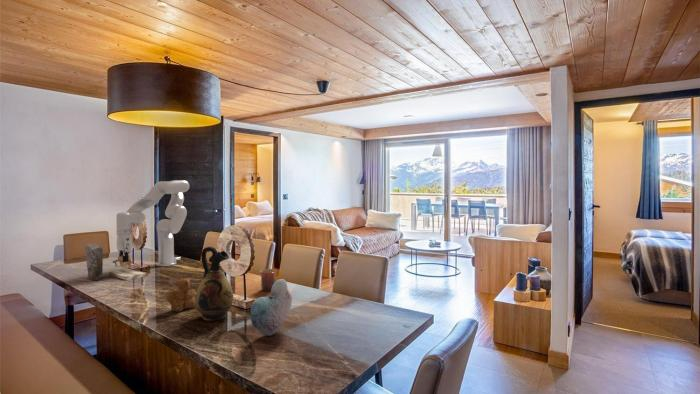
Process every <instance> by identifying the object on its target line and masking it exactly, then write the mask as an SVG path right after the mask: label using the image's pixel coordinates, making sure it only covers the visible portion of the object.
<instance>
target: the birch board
mask: <svg viewBox="0 0 700 394" xmlns="http://www.w3.org/2000/svg"><path fill="white" fill-rule="evenodd" d="M108 276H111V277H114V278H117V279H121V280H124V281H130V280H135V279H140V278H144V277H147V273H146V272H144V271H140V270H136V269H132V268H123V269H116V270H112V271H108Z"/></svg>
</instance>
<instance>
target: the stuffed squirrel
mask: <svg viewBox="0 0 700 394" xmlns="http://www.w3.org/2000/svg"><path fill="white" fill-rule="evenodd" d="M174 282H175V283H176V285H177V286H178V288H174V289H173V290H170V291H168V292H167V293H166V294H165V295H164V297H165V298H164V299H165V300H166V302H168V303H169V305H170V308H171V310H172V311H174V312H182V311H183V310H189V309H194V308H196V305H195V299H194V297H193V296H194V294H196V293H195V292H196V290H195V289H194V288H192V289H190V288H191V286H193V283H192V282H191V281H190V280H189V279H188V278H181V279H179V280H175V281H174Z"/></svg>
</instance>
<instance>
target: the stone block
mask: <svg viewBox="0 0 700 394" xmlns="http://www.w3.org/2000/svg"><path fill="white" fill-rule="evenodd" d="M84 247H85V256H86V267H87V275H88V276H87V279H89V280H91V281H94V282H96V281H99V280H103V270H104V269H103V266H104V263H103V260H104V259H103V257H104V256H103V253H104V252H103V251H104V250H103V245H101V244H98V243H95V244H86V245H85V246H84Z"/></svg>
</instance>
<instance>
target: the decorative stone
mask: <svg viewBox="0 0 700 394" xmlns="http://www.w3.org/2000/svg"><path fill="white" fill-rule="evenodd" d="M269 293H270V294H269V295H268V296H260V297H258V298H257V299H256V300H254V301H253V302H251V303H252V304H251V305H250V322H251V325H252V326H253V327H254V328H255V329H256V330H258V331H260V332H261V333H262V334H263V335H265V336H269V337H270V336H273V335H274V334H275V333H277V331H278V330H279V328H280V327H281V326H282V324H284V322H285V320H286V319H287V317H288V315H289V313H290V312H291V308H292V302H293V295H292V292H290V291H289V289H288V284H287V281H286V280H285V279H284V278H279V279H277V280H275V283H274V284H273V286H272V289H271V291H270V292H269Z"/></svg>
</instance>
